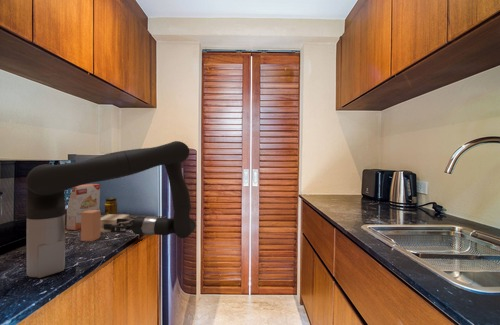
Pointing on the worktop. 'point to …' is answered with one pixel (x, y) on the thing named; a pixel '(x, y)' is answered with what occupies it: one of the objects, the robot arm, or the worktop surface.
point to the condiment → (111, 206)
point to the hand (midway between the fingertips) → (110, 223)
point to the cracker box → (82, 203)
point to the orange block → (90, 225)
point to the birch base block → (111, 220)
